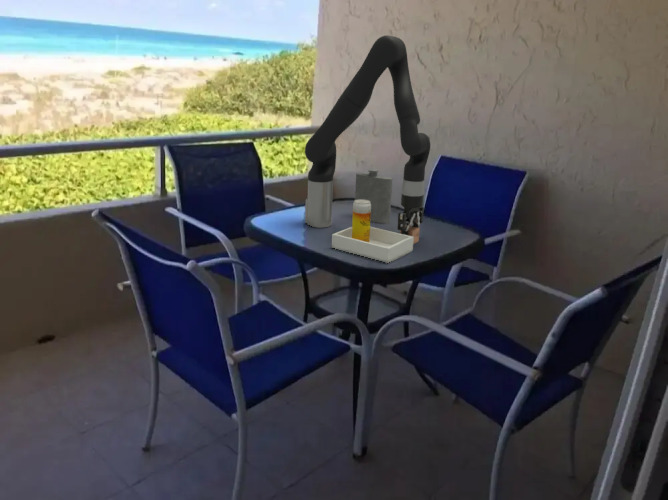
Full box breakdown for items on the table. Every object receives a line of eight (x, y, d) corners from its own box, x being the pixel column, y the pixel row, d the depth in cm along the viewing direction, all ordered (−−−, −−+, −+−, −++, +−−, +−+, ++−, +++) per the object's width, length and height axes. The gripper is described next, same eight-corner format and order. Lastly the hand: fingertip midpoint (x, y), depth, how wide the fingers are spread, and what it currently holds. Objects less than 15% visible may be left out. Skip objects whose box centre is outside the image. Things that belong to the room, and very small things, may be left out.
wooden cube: (399, 242, 203) (400, 228, 202) (406, 238, 207) (407, 225, 206) (411, 245, 201) (412, 231, 199) (418, 241, 204) (419, 228, 203)
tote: (331, 248, 194) (332, 234, 193) (358, 237, 207) (359, 223, 205) (387, 263, 182) (388, 248, 181) (412, 251, 194) (413, 236, 193)
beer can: (367, 247, 194) (369, 204, 189) (349, 246, 195) (351, 202, 190) (370, 242, 199) (372, 199, 194) (353, 240, 200) (354, 198, 195)
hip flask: (391, 222, 226) (394, 171, 219) (385, 224, 223) (388, 173, 216) (357, 214, 234) (359, 165, 228) (351, 216, 231) (353, 167, 225)
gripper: (412, 198, 191) (408, 245, 196) (432, 190, 201) (428, 236, 207) (392, 194, 195) (389, 241, 200) (413, 187, 206) (410, 231, 211)
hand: (409, 238), depth 204 cm, fingers open, 7 cm apart
